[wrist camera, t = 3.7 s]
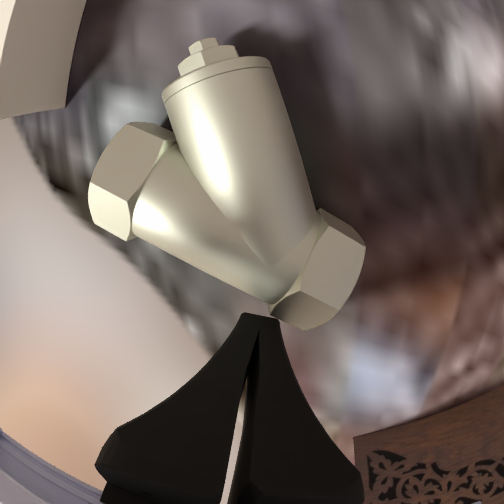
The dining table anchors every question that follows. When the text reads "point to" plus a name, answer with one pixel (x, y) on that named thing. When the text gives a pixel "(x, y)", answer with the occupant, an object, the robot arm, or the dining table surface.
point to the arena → (36, 53)
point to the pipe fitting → (229, 190)
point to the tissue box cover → (438, 457)
